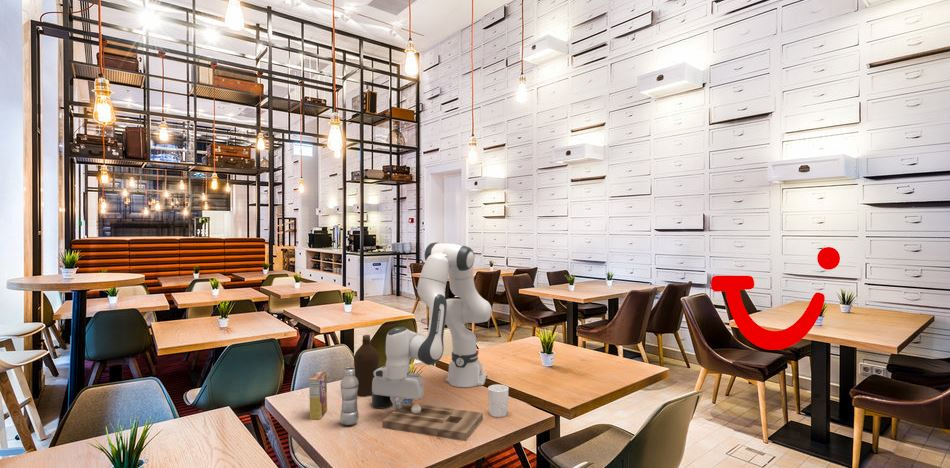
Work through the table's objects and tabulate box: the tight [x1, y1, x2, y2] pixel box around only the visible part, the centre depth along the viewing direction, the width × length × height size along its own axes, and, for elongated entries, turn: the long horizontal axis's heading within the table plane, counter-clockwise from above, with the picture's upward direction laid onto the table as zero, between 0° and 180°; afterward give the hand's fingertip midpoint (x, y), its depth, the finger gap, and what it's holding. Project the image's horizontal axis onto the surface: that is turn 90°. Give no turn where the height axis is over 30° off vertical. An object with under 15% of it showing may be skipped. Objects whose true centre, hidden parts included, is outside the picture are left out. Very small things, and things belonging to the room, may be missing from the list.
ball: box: [411, 403, 421, 414], centre depth 165 cm, size 4×4×4 cm
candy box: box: [308, 371, 328, 421], centre depth 171 cm, size 9×4×15 cm, turn 2°
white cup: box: [487, 384, 509, 418], centre depth 172 cm, size 8×8×10 cm
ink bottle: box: [371, 376, 393, 409], centre depth 181 cm, size 10×9×12 cm
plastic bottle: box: [339, 367, 360, 426], centre depth 163 cm, size 6×7×20 cm
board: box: [381, 402, 484, 441], centre depth 163 cm, size 32×18×4 cm, turn 71°
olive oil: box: [353, 334, 380, 397], centre depth 195 cm, size 11×11×25 cm
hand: (397, 408), depth 168 cm, fingers closed
